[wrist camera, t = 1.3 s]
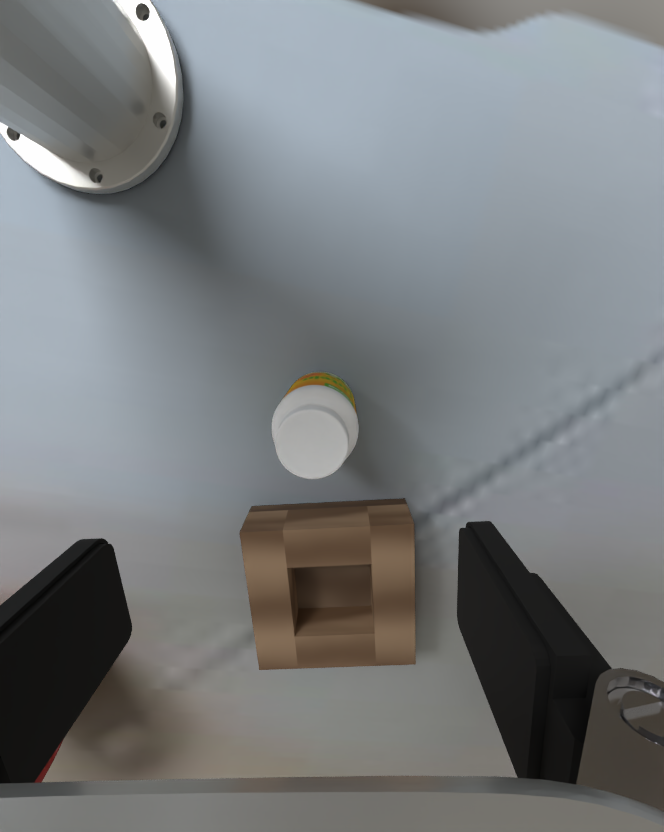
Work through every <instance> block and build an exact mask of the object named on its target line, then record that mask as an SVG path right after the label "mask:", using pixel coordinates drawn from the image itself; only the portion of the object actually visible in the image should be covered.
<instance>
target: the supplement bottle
mask: <svg viewBox="0 0 664 832" xmlns="http://www.w3.org/2000/svg"><path fill="white" fill-rule="evenodd" d="M358 433H359V423H358V417H357V412H356V406H355V401H354V397H353V394H352V391H351V390H350V388H349V386H348V385H347V384H346V383H345V382H344V381H343V380H342V379H341V378H339V377H338V376H336V375H334V374H331V373H328V372H312V373H308V374H306V375H304V376H302V377H301V378H299V379H298V380H297V381H296V382H295V383H294V384H293V385H292V386H291V388H290V389H289V391H288V392H287V394H286V395H285V396H284V398H283V399H282V400H281V402H280V403H279V405H278V406H277V408H276V410H275V412H274V415H273V419H272V437H273V441H274V443H275V448H276V453H277V456H278V458H279V460H280V462H281V463H282V465H283V466H284V467H285V468H286V469H287V470H288V471H290V472H291V473H293V474H294V475H296V476H299V477H301V478H305V479H320V478H324V477H327V476H329V475H331V474H333V473H334V472H335V471H337V470H338V469H339V468H340V467H341V465H342V464H343V463H344V461H345V459H346V458H347V457H348V456H349V455H350V454H351V452H352V451H353V449H354V447H355V445H356V442H357V439H358Z"/></svg>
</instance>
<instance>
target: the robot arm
mask: <svg viewBox="0 0 664 832" xmlns="http://www.w3.org/2000/svg"><path fill="white" fill-rule="evenodd" d="M182 108H183V81H182V72H181V68H180V63H179V59H178V54H177V51H176V48H175V46H174V43H173V41H172V38H171V35H170V33H169V30H168V29H167V27H166V25H165V23H164V22H163V20H162V18H161V16H160V14H159V12H158V11H157V9H156V7H155V6H154V5H153V3H152V2H151V0H0V134H1V135H2V136H3V138H4V139H5V141H6V142H7V143H8V145H9V146H10V147H11V148H12V149H13V150H14V151H15V152H16V153H17V155H18V156H19V157H20V158H21V159H22V160H23V161H24V162H25V163H27V164H28V165H29V166H31V167H32V168H33V169H35V170H36V171H37V172H39V173H40V174H41V175H43V176H45V177H47V178H49V179H51V180H53V181H55V182H57V183H59V184H61V185H63V186H66V187H68V188H71V189H73V190H76V191H81V192H86V193H91V194H111V193H115V192H119V191H123V190H127V189H129V188H131V187H133V186H135V185H137V184H139V183H141V182H143V181H144V180H145V179H147V178H148V177H149V176H150V175H151V174H153V173H154V172H155V171H156V170H157V169H158V167H159V166H160V165H161V164H162V162H163V161H164V160H165V158H166V157H167V156H168V154H169V152H170V150H171V148H172V146H173V144H174V141H175V139H176V136H177V133H178V129H179V126H180V122H181V118H182ZM164 124H166V126H165V127H164V128H163V125H164ZM101 179H102V181H101ZM457 618H458V624H459V628H460V631H461V633H462V636H463V638H464V641H465V644H466V646H467V649H468V651H469V654H470V656H471V659H472V662H473V664H474V667H475V669H476V672H477V674H478V677H479V680H480V682H481V685H482V687H483V690H484V692H485V695H486V697H487V700H488V703H489V705H490V708H491V710H492V713H493V715H494V718H495V721H496V723H497V726H498V728H499V731H500V733H501V736H502V739H503V741H504V744H505V746H506V749H507V751H508V754H509V756H510V759H511V762H512V764H513V767H514V769H515V772H516V774H517V777H518V778H510V777H488V776H353V777H278V778H221V779H170V780H123V781H80V782H43V783H34V782H35V781H36V779H37V778H38V776H39V775H40V773H41V772H42V770H43V769H44V767H45V766H46V764H47V763H48V761H49V760H50V758H51V757H52V755H53V754H54V752H55V751H56V749H57V748H58V746H59V745H60V743H61V742H62V740H63V739H64V737H65V736H66V734H67V732H68V731H69V729H70V728H71V726H72V725H73V723H74V722H75V720H76V719H77V717H78V716H79V714H80V713H81V711H82V710H83V708H84V707H85V705H86V704H87V702H88V701H89V699H90V698H91V696H92V695H93V693H94V692H95V690H96V689H97V687H98V686H99V684H100V683H101V681H102V680H103V678H104V677H105V675H106V674H107V672H108V671H109V669H110V668H111V666H112V665H113V663H114V662H115V660H116V659H117V657H118V656H119V654H120V653H121V651H122V650H123V648H124V647H125V645H126V644H127V642H128V640H129V638H130V636H131V632H132V623H131V619H130V615H129V611H128V607H127V603H126V598H125V594H124V590H123V586H122V582H121V577H120V573H119V569H118V565H117V561H116V557H115V552H114V549H113V546H112V545H111V544H108V542H107V541H106V540H105V539H102V538H101V539H82V540H79V541H77V542H76V543H75V544H73V545H72V546H71V547H70V548H69V549H67V550H66V551H65V552H64V553H63V554H61V555H60V556H59V557H58V558H57V559H55V560H54V561H53V562H52V563H51V564H49V565H48V566H47V567H46V568H45V569H43V570H42V571H41V572H40V573H39V574H37V575H36V576H35V577H34V578H33V579H31V580H30V581H29V582H28V583H27V584H25V585H24V586H23V587H22V588H21V589H19V590H18V591H17V592H16V593H15V594H13V595H12V596H11V597H10V598H9V599H7V600H6V601H5V602H4V603H3V604H1V605H0V832H664V682H663V681H661V680H659V679H657V678H655V677H654V676H651V675H648V674H645V673H642V672H640V671H637V670H631V669H624V668H617V669H612V668H611V667H610V666H609V664H608V663H607V662H606V661H605V659H604V658H603V657H602V655H601V654H600V653H599V652H598V650H597V649H596V648H595V647H594V645H593V644H592V643H591V641H590V640H589V639H588V638H587V636H586V635H585V634H584V633H583V631H582V630H581V629H580V627H579V626H578V625H577V624H576V622H575V621H574V620H573V618H572V617H571V616H570V615H569V613H568V612H567V611H566V610H565V608H564V607H563V606H562V604H561V603H560V602H559V601H558V599H557V598H556V597H555V595H554V594H553V593H552V592H551V590H550V589H549V588H548V587H547V585H546V584H545V583H544V581H543V580H542V579H541V578H540V577H539V576H538V575H537V574H535V573H530V572H529V571H528V570H527V569H526V567H525V566H524V565H523V563H522V562H521V561H520V559H519V558H518V557H517V555H516V554H515V553H514V551H513V550H512V549H511V547H510V546H509V545H508V543H507V542H506V541H505V539H504V538H503V537H502V535H501V534H500V533H499V531H498V530H497V529H496V528H495V526H494V525H493V524H492V523H491V522H490V521H481V522H468V523H467V524H466V528H460V530H459V556H458V596H457Z"/></svg>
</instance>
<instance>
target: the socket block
mask: <svg viewBox="0 0 664 832" xmlns="http://www.w3.org/2000/svg"><path fill="white" fill-rule="evenodd" d="M240 539H241V546H242V553H243V560H244V567H245V574H246V581H247V587H248V594H249V601H250V608H251V615H252V622H253V629H254V636H255V643H256V649H257V656H258V663H259V670H269V669H297V668H325V667H353V666H381V665H409V664H416V661H415V545H414V522H413V519H412V516H411V514H410V511H409V508H408V506H407V503H406V500H405V498H403V499H383V500H363V501H343V502H324V503H304V504H284V505H264V506H252V507H251V509H250V511H249V513H248V515H247V517H246V520H245V522H244V524H243V526H242V528H241V530H240Z"/></svg>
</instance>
